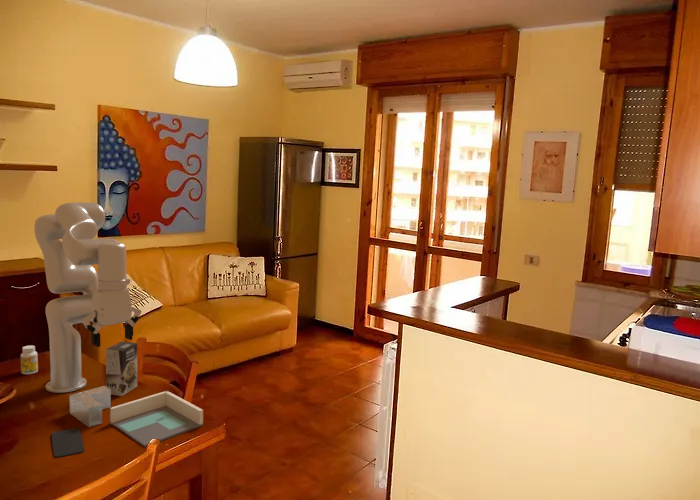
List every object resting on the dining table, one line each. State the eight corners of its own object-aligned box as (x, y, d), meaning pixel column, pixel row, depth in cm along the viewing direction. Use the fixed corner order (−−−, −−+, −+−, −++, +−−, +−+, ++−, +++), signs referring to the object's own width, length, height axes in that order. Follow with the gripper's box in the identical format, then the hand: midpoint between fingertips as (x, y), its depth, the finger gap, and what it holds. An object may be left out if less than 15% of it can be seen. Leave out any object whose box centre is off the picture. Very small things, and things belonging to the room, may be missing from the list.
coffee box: (122, 396, 182) (122, 350, 180) (105, 394, 184) (105, 348, 181) (138, 386, 191) (138, 342, 189) (122, 384, 192) (121, 340, 190)
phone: (53, 457, 142) (50, 432, 155) (53, 460, 142) (50, 435, 155) (85, 451, 146) (79, 427, 159) (85, 453, 146) (79, 429, 159)
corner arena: (110, 423, 163) (110, 407, 162) (167, 405, 178) (167, 390, 177) (144, 447, 150) (144, 430, 150) (202, 425, 165) (203, 409, 164)
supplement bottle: (41, 371, 201) (40, 346, 199) (28, 375, 196) (27, 350, 195) (31, 368, 203) (30, 343, 201) (17, 373, 198) (16, 347, 197)
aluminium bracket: (69, 413, 168) (69, 395, 168) (104, 403, 177) (104, 385, 176) (88, 427, 160) (88, 408, 159) (124, 415, 169) (124, 397, 168)
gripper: (133, 279, 165) (134, 333, 167) (75, 286, 151) (76, 345, 154) (147, 283, 160) (147, 339, 162) (88, 291, 147) (89, 352, 149)
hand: (113, 342), depth 158 cm, fingers open, 9 cm apart
